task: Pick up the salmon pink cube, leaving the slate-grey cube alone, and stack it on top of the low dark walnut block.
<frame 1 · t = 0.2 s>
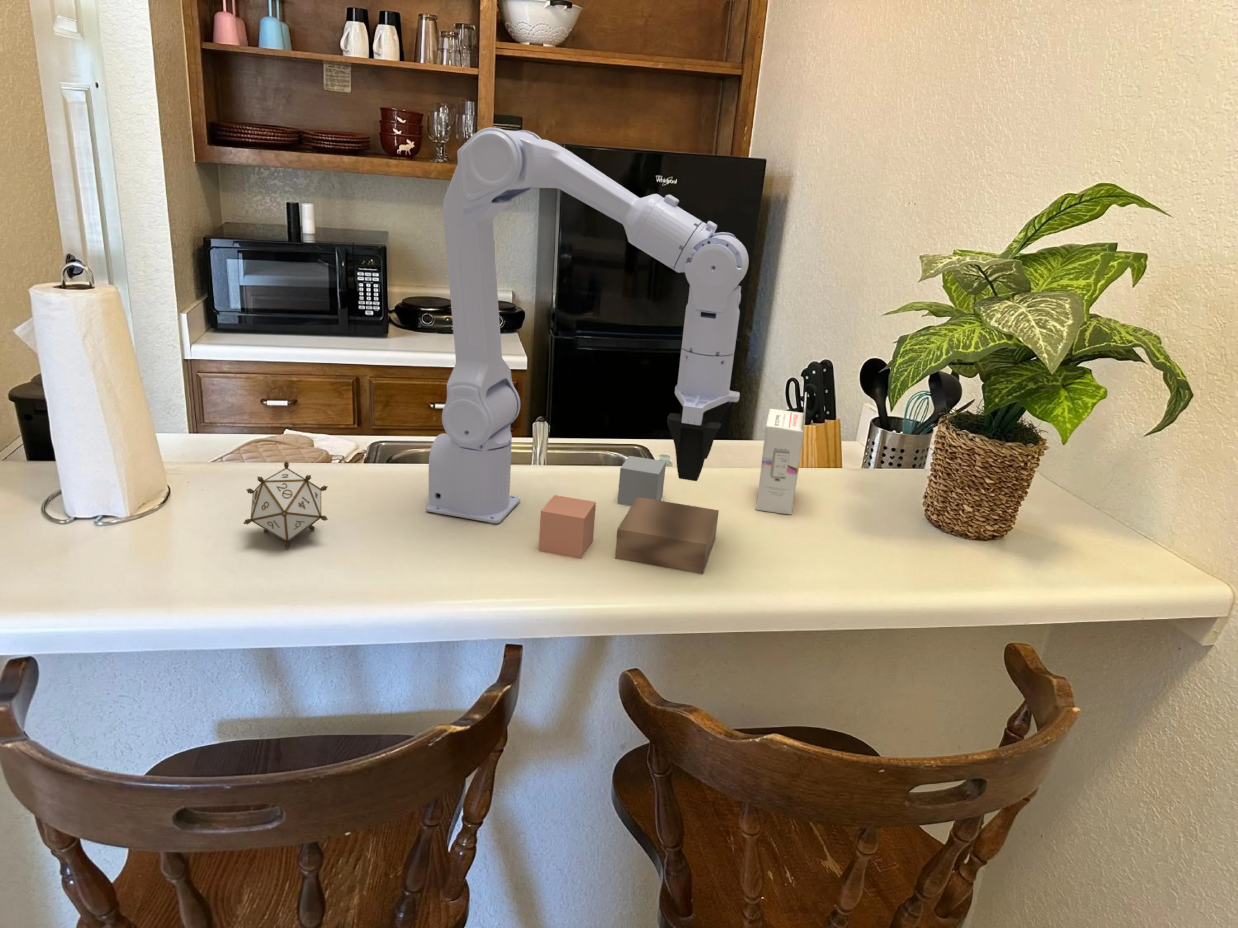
hand: (693, 467, 99), 10 cm above the countertop, fingers open, 7 cm apart
ink cartridge box: (773, 502, 118), on the countertop
grey cube: (640, 500, 115), on the countertop
game die: (288, 539, 97), on the countertop
walnut block: (666, 550, 102), on the countertop
salmon pink cube: (566, 546, 100), on the countertop
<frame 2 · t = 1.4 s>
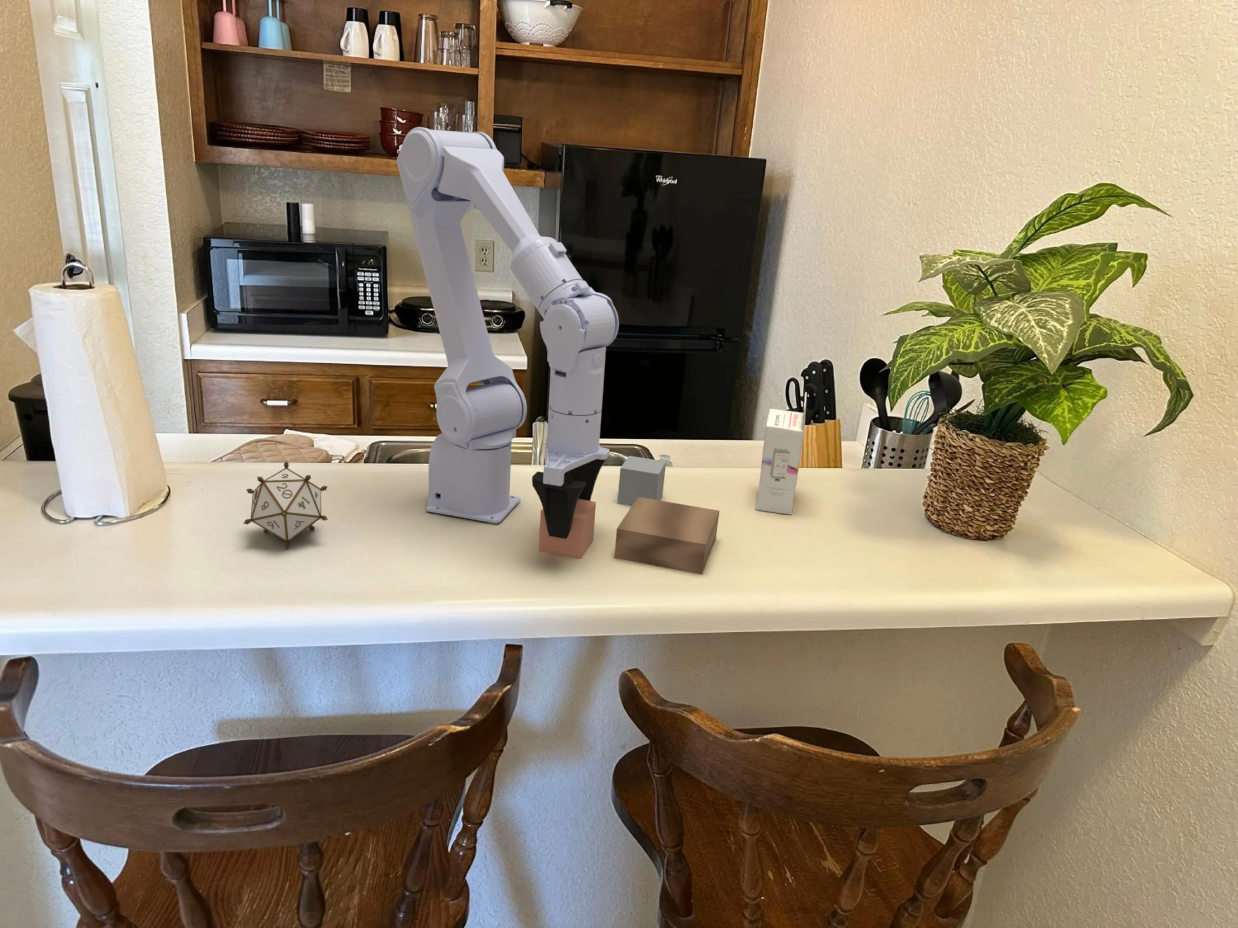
hand: (568, 522, 99), 3 cm above the countertop, fingers open, 7 cm apart
nothing on the countertop moved.
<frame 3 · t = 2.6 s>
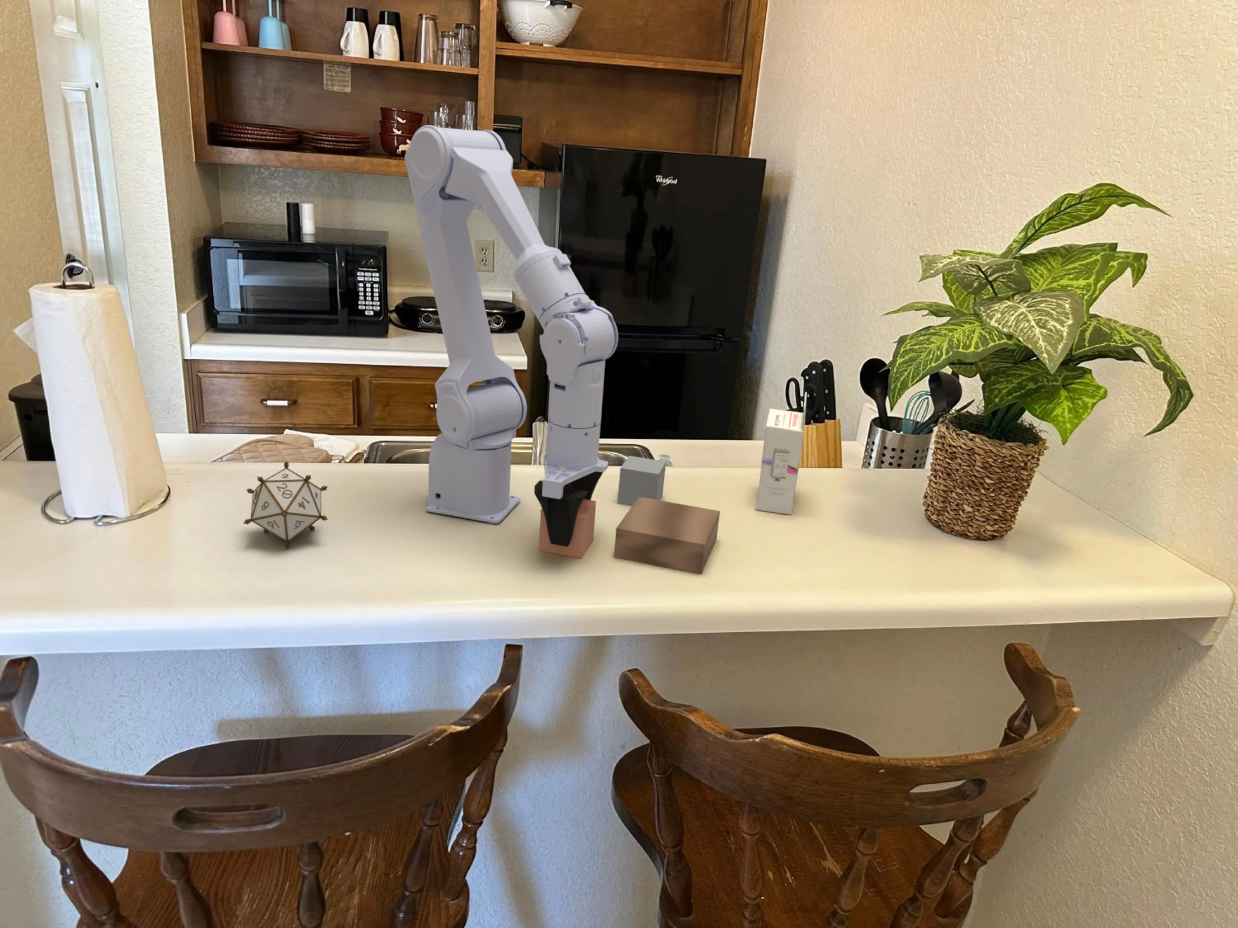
hand: (567, 534, 100), 1 cm above the countertop, fingers closed on salmon pink cube, 5 cm apart
salmon pink cube: (566, 545, 100), on the countertop, touching gripper
everything else where it was.
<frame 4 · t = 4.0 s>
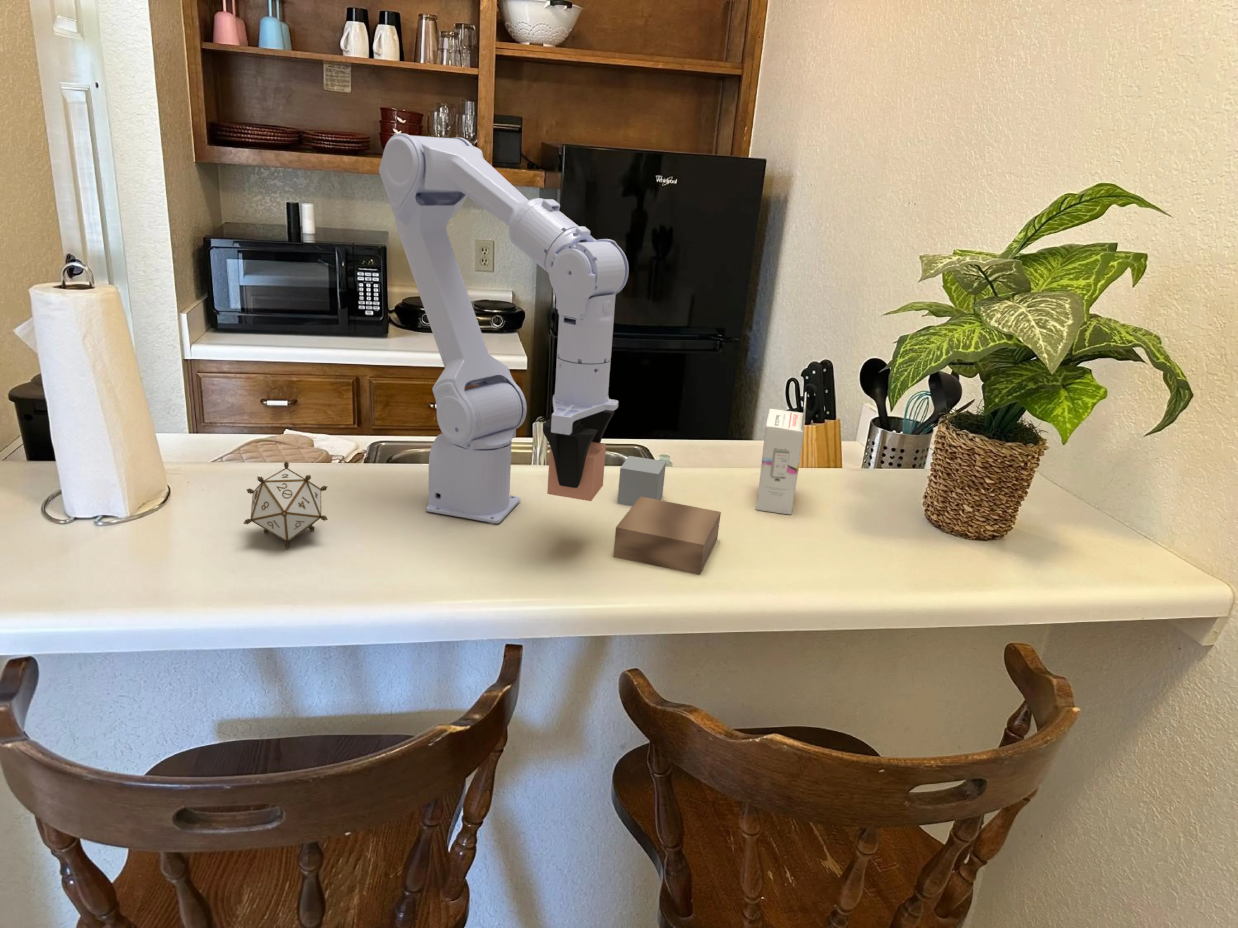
hand: (576, 477, 97), 8 cm above the countertop, fingers closed on salmon pink cube, 5 cm apart
salmon pink cube: (575, 489, 98), point 7 cm above the countertop, touching gripper
everything else where it was.
when the fingers open (7 cm above the countertop, at t = 5.5 s): salmon pink cube drops 2 cm, point 4 cm above the countertop.
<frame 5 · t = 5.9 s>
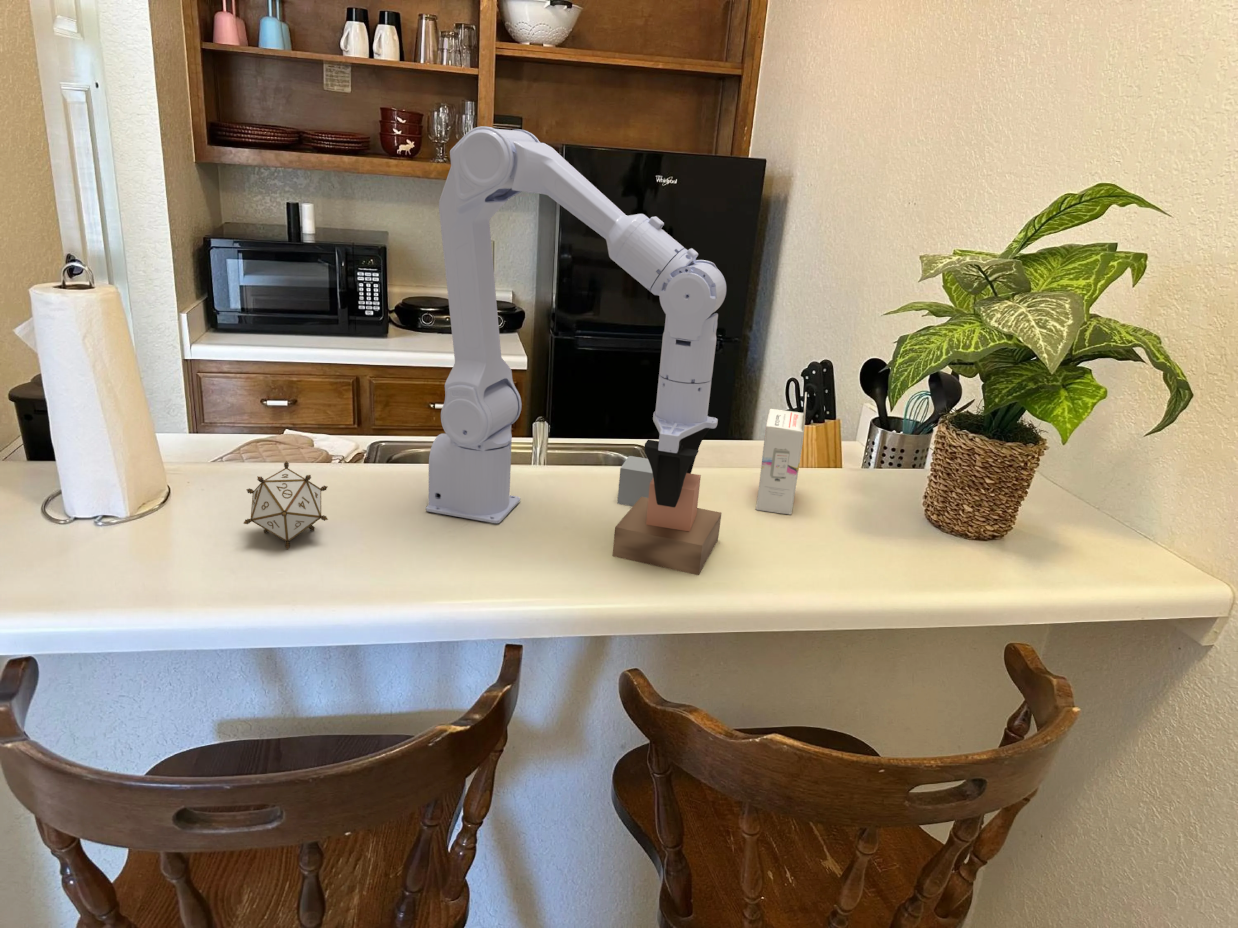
hand: (672, 492, 99), 7 cm above the countertop, fingers open, 7 cm apart
salmon pink cube: (671, 519, 100), point 4 cm above the countertop
everything else where it was.
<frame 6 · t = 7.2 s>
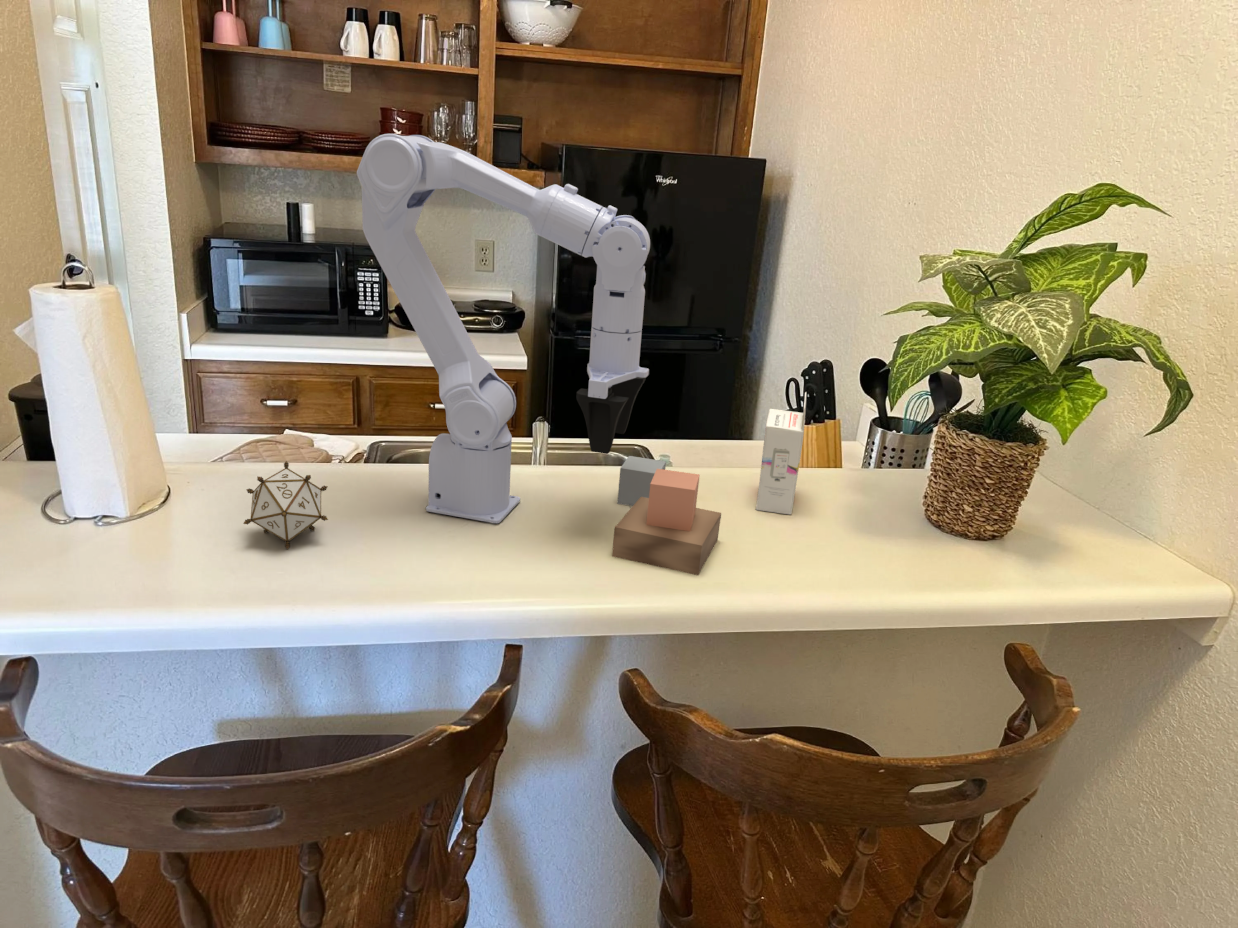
hand: (608, 441, 104), 10 cm above the countertop, fingers open, 7 cm apart
walnut block: (666, 551, 102), on the countertop, touching salmon pink cube
salmon pink cube: (671, 519, 101), point 4 cm above the countertop, touching walnut block
everything else where it was.
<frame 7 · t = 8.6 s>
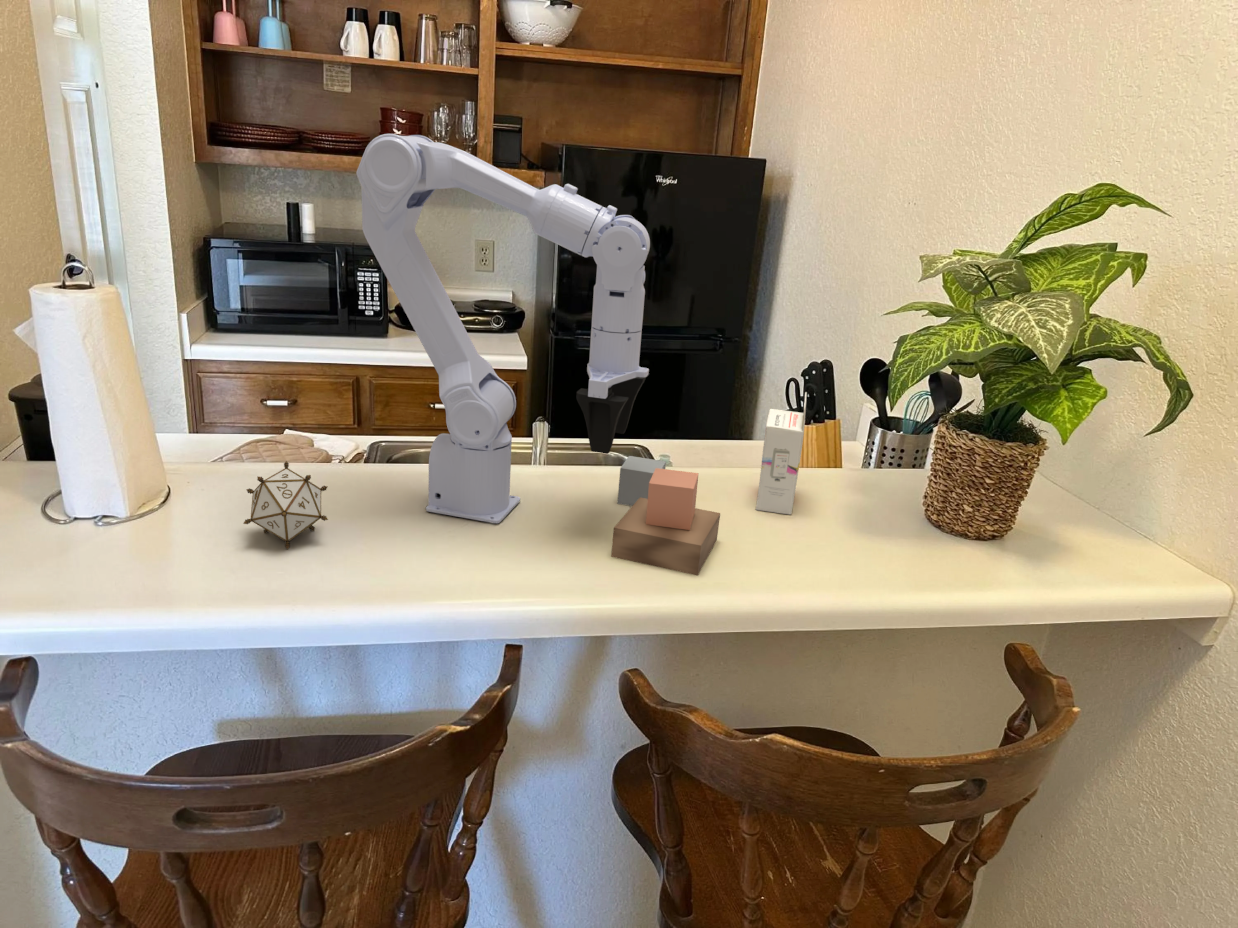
hand: (608, 441, 104), 10 cm above the countertop, fingers open, 7 cm apart
walnut block: (665, 551, 102), on the countertop
salmon pink cube: (670, 518, 101), point 4 cm above the countertop
everything else where it was.
at the end: salmon pink cube 0.4 cm off-centre on the walnut block, point 4.1 cm above the walnut block's base; salmon pink cube tilted 1°; grey cube moved 0.1 cm from its start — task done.
